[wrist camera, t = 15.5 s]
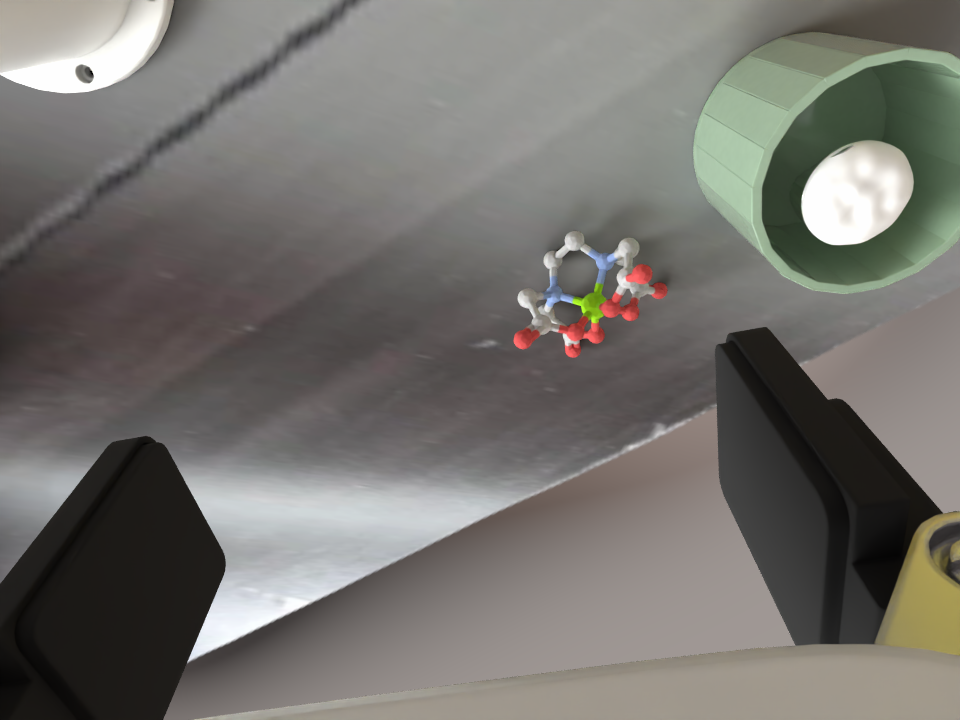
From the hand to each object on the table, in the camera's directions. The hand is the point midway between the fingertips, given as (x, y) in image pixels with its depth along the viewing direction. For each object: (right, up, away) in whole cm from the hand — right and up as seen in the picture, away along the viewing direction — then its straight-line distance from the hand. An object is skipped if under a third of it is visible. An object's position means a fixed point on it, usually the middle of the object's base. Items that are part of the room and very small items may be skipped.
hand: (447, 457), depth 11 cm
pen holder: (+17, +14, +25) cm, 33 cm away
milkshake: (+17, +13, +25) cm, 33 cm away
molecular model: (+7, +6, +29) cm, 31 cm away
